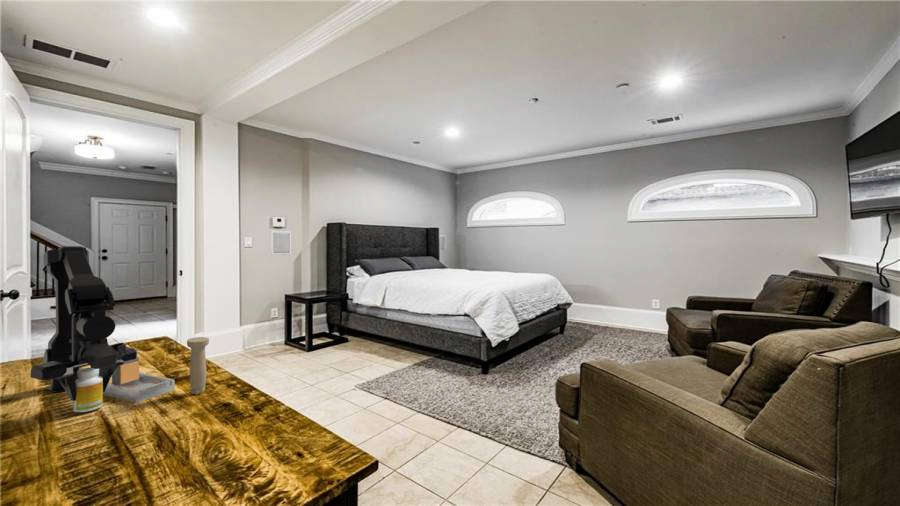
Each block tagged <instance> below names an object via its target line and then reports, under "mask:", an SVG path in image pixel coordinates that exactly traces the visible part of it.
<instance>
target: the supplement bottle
mask: <svg viewBox="0 0 900 506" xmlns="http://www.w3.org/2000/svg"><path fill="white" fill-rule="evenodd" d="M77 374H78V375H77V377H78V379H77V380H75V385H76V400H75V401H72V410H73V412H74V413H86V412H90V411H94V410H97V409H99V408H101V407H103V405H104V395H103V378H102V377H101V376H99V369H93V368H91V366H89V367H85V368H84V367H83V368H81V369H80V370H78V371H77Z"/></svg>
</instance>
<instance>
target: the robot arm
mask: <svg viewBox="0 0 900 506" xmlns="http://www.w3.org/2000/svg"><path fill="white" fill-rule="evenodd" d="M43 266H44V267H46V272H47V273H48V274H49V276H50V277H51V278H52V279H53V280H54V285H55V287H54V288H55V291H54V293H55V332H54V334H52V337H51V338H50V339H49V340H48V342H47V348H46V349H45V351H44V354H43V359H42V363H38V364H34V365H33V366H32V367H31V368H30V378H32V379H37V380H39V381H49V380H50V383H51V385H50V386H48V387H45V388H44V390H45V391H48V392H53V393H56V394H57V393H61V392H65V393H66V394H67V396H68V397H69V398H70V400H71V401H72V402H73V401H75V400H76V385H75V380H77V379H78V377H77V375H78V374H77V371H78V370H81V369H80V368H84V367H88V366H89V367H91V368H93V369H99V374H98V375H99V376H101V377H102V378H103V392H105V390H106V387H107V385H108V383H110V380H111V379H112V374H113V372H114V371H115V369H117V368H118V367H119V366H120V365H123V364H124V362H121V360H123V361H129V360H133V359H136V358H138V351H137V350H136V349H135V348H134V347H129V346H128V347H127V345H126V343H124V342H117V343H114V344H109V343H108V337H110V336H111V335H112V334H113V333H114V331H115V330H116V322H115V320H114V319H112V317H110V316H108V315H107V314H106V312H107V311H114V307H115V305H116V302H115V298H114V296H113V293H112V291H111V290H110V287H109V286H107V285H106V283H105V281H104V280H103V279H102V278H101V277H97V276H95V275H94V273H93V271H92V268H91V265H90V255H89V250H87V248H86V247H85V246H84V247H83V246H82V245H80V246H79V245H78V246H77V245H72V246H71V245H70V246H69V245H67V246H66V245H64V246H60V247H58V248H54V249H49V250H46V251H45V252H44V254H43Z"/></svg>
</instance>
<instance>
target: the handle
mask: <svg viewBox="0 0 900 506" xmlns="http://www.w3.org/2000/svg"><path fill="white" fill-rule="evenodd" d="M209 343H210V338H209V337H206V336H205V337H204V336H199V337H197V336H195V337H190V338H188V339H187V340H186V345H187V347H188V348H190V362H189V363H190V365H189V386H190V394H191V395H201V394H203V393H204V392H205V391H206V382H207V361H206V346H209Z"/></svg>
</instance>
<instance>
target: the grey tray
mask: <svg viewBox="0 0 900 506" xmlns="http://www.w3.org/2000/svg"><path fill="white" fill-rule="evenodd" d="M121 362H124V364H123V365H120V366H119V367H118V368H117V369H115V371H114V372H113V374H112V376H111V383H110V382H109V383H108V385H107V387H106V390H105V392H103V396H108V397H112V398H116V399H118V400H119V399H120V400H123V401H127V402H130V403H131V402H132V403H134V404H138V403H141V402H143V401H146V400H150V399H152V398H155V397H157V396H158V397H159V396H162V395H164V394H167V393H170V392H172V391H173V392H174V391H175V389H176V388H175V384H176V383H175V379H173V378H168V377H163V376H158V375H154V374H149V373H144V372H140V358H139V357H137V358H136V359H133V360H129V361H123V360H121Z"/></svg>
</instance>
